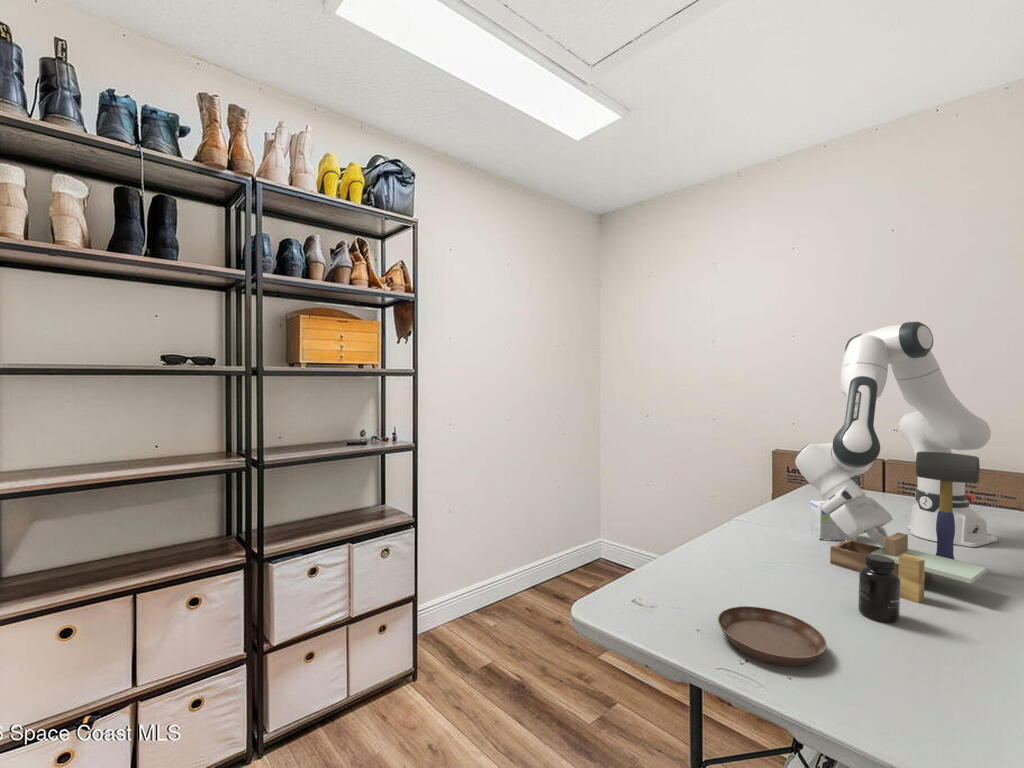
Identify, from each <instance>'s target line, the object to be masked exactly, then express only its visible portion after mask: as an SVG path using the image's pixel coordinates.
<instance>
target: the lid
mask: <svg viewBox="0 0 1024 768" xmlns="http://www.w3.org/2000/svg"><path fill="white" fill-rule="evenodd" d="M908 539H909V535H908V534H906V533H902V532H896V533H894V534H892V535H888V537H886V538H885V547H882V548H880V549H878V550H876V551H874V552H871V554H874V555H881V556H885V557H888V558H891V559H893V560H894V562H895V563H896V564H899V557H900V556H902V555H904V554H907V555H911V556H915V557H919V558H923V559H925V571H926V572H930V573H932V574H934V575H938V576H941V577H945V578H949V579H952V580H955V581H960V582H963V583H967V584H972V583H974V582H975V581H977V580H978V579H979V578H980V577H982V576H983V575H986V574H987V572H988V568H987V567H985V566H981V565H978V564H973V563H969V562H965V561H961V560H957V559H955V560H953V559H949V558H945V557H941V556H937V555H936V554H933V553H928V552H924V551H920V550H917V549H911V548H908V547H909V546H908V545H909V544H908V541H909V540H908Z"/></svg>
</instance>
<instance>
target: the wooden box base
mask: <svg viewBox="0 0 1024 768" xmlns="http://www.w3.org/2000/svg"><path fill="white" fill-rule="evenodd" d="M880 548H883V547H882V546H877V545H874V544H870V543H865V542H862V541H859V540H858V541H854V540H850V539H849V540H847V541H842V542H841V541H840V543H836V544H835V545H832V546H830V551H829V553H830V555H829V556H830V557H829V558H830V559H829V561H830V562H829V564H830V563H832V564H831V565H833V564H835V565H834V566H837V565H838V566H837V567H840V566H841V567H840V568H843V567H844V569H847V568H848V569H847V570H850V569H851V570H850V571H853V572H857V573H859V572H860V570H861V569H862V568H863V567H866V565H865V557H866V555H869V554H871V552H874V551H876V550H878V549H880ZM894 567H895V570H894V571H893V572H894V573H895V574H897V575H898V570H899V564H896V563H894ZM932 574H933V573H930V572H926V571H925V574H924V583H926V582H928V581H929V580H931V579H932Z"/></svg>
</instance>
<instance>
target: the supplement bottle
mask: <svg viewBox="0 0 1024 768" xmlns="http://www.w3.org/2000/svg"><path fill="white" fill-rule="evenodd" d="M894 563H895V562H894V560H893V559H891V558H888V557H885V556H881V555H874V554H869V555H866V557H865V565H866V567H863V568H862V569H861V570H860V572H858V574H859V575H858V611H859V613H860V614H862V615H863V616H864V617H866V618H868V619H870V620H872V621H873V620H874V621H877V622H881V623H885V624H887V623H888V624H892V623H893V624H894V623H897V622H899V620H900V615H901V614H900V610H901V608H900V607H901V606H900V605H901V598H900V578H899V577H898V575H897V574H895V573H894V572H893V571H894V570H895V567H894Z"/></svg>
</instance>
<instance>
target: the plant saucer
mask: <svg viewBox="0 0 1024 768" xmlns="http://www.w3.org/2000/svg"><path fill="white" fill-rule="evenodd" d="M717 624H718V626H719V627H720V629H721V631H722V632H723V634H724V635H725V637H726V638H727V639H728V641H729V642H730V643H731V644H732V645H733V646H734V647H735V648H737V649H738V650H739V651H741V652H742V653H744V654H746V655H747V656H750V657H752V658H754V659H756V660H759V661H762V662H765V663H770V664H774V665H777V666H785V667H797V666H803V665H806V664H809V663H811V662H813V661H814V660H816V659H817V658H819V657H820V656H822V655H823V653H824V652H825V650H827V647H828V645H827V640H826V638H825V637H824V635H823V634H822V633H821V632H820V631H819V630H818V629H817V628H816V627H815V626H813V625H811V624H809V623H808V622H806V621H804V620H802V619H800V618H798V617H795V616H793V615H790V614H789V613H788V614H787V613H785V612H782V611H779V610H774V609H770V608H765V607H759V606H749V605H748V606H747V605H745V606H734V607H729V608H726V609H724V610H722V611H721V612H720V613H719V614H718V617H717Z"/></svg>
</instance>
